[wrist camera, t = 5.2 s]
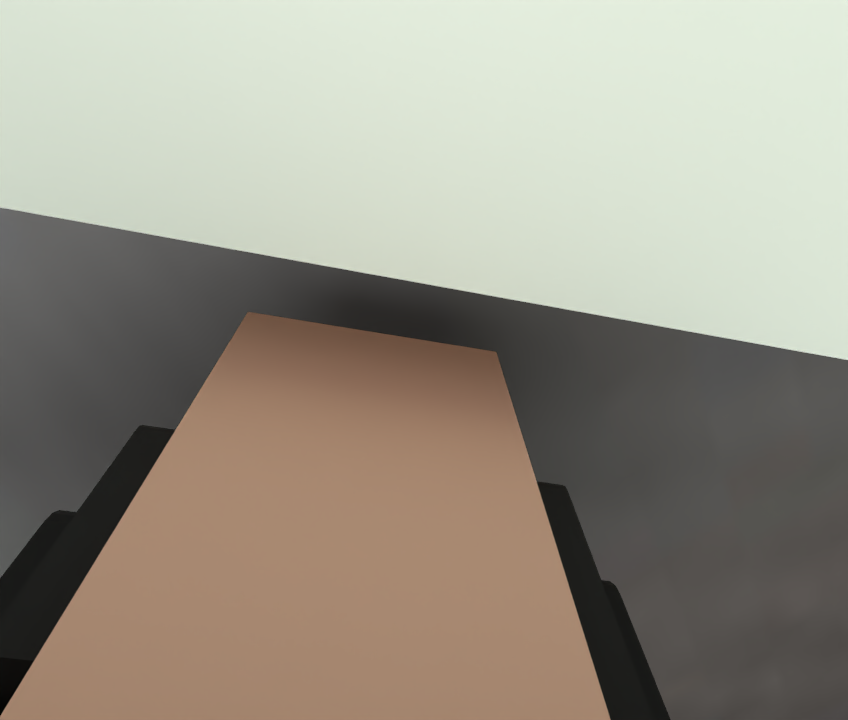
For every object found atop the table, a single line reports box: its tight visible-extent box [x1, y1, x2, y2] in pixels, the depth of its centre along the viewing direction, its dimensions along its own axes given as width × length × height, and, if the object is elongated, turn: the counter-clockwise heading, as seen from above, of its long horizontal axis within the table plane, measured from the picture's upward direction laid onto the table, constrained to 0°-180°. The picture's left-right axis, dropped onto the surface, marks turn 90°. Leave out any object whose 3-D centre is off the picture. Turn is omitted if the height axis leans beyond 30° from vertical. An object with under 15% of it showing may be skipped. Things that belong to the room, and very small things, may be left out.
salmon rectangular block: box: [0, 312, 611, 720], centre depth 8 cm, size 4×4×10 cm
